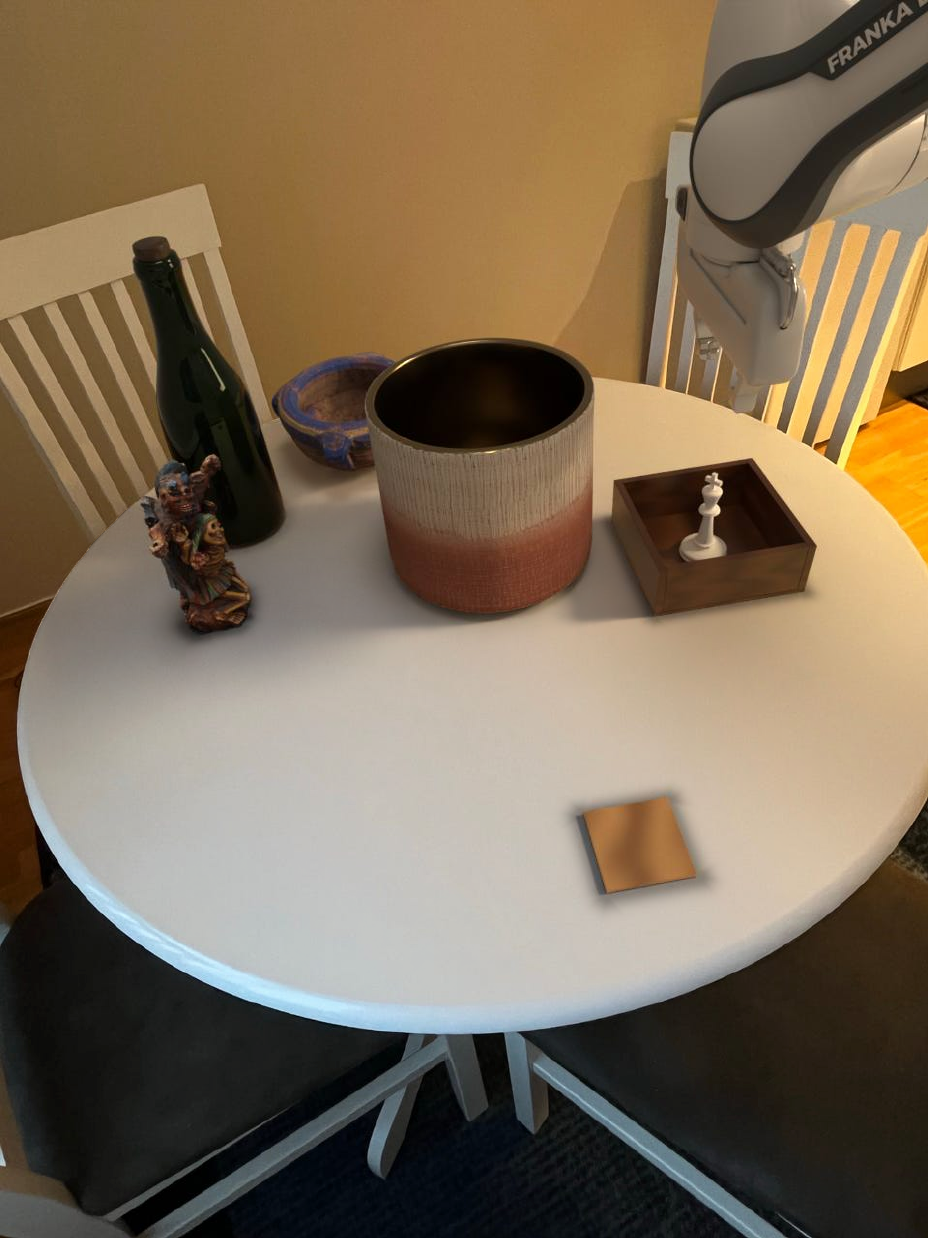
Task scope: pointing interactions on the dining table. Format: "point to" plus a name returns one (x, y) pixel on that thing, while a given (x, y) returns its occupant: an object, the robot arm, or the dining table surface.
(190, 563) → the figurine
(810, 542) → the crate
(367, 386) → the bowl
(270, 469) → the green wine bottle
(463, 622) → the dining table surface
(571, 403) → the planter
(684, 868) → the coaster
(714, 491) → the chess piece
